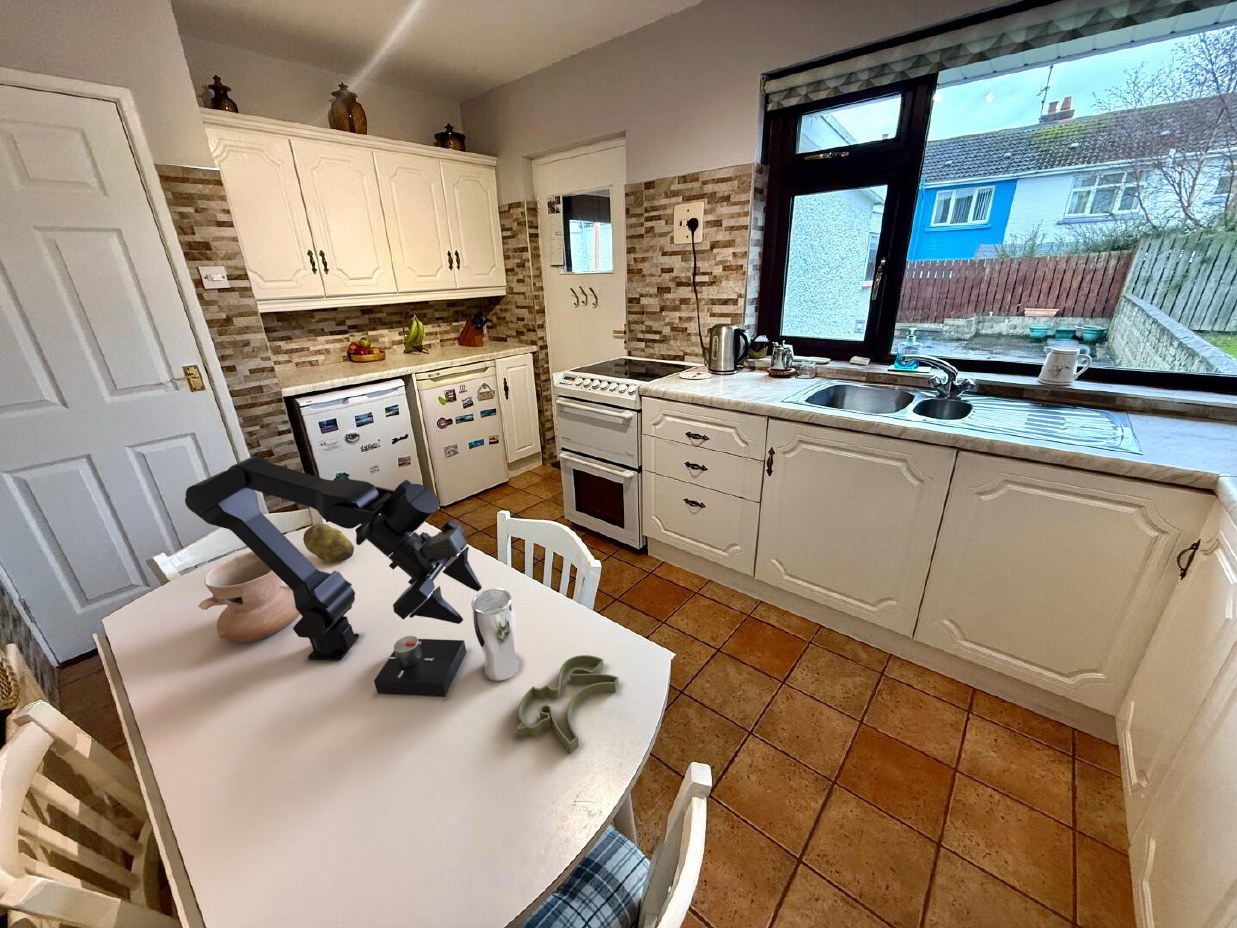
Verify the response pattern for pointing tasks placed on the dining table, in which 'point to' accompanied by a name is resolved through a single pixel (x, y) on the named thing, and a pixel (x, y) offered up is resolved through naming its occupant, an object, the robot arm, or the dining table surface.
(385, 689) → the hob panel
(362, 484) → the robot arm
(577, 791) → the dining table surface
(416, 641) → the hob knob
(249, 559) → the ceramic jug
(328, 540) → the potato
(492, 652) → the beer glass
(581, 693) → the cookie cutter
